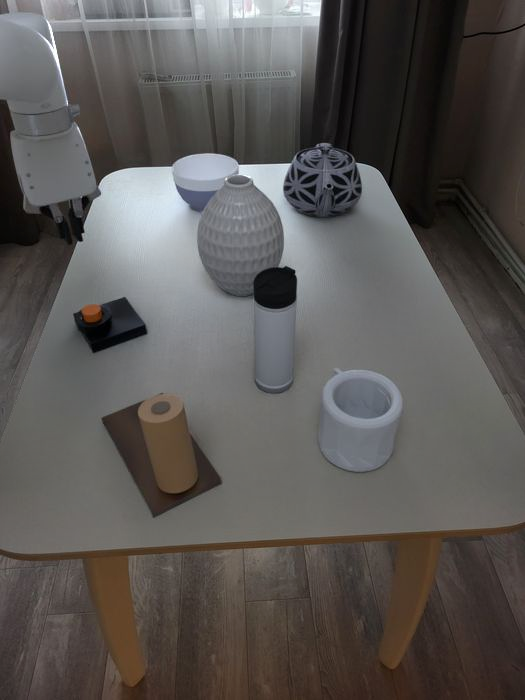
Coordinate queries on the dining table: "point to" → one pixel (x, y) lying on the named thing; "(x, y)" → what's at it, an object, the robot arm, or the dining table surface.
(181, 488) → the paper roll
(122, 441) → the holder
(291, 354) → the travel mug
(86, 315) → the button
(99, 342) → the button box
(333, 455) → the mug
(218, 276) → the vase
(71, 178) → the robot arm
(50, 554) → the dining table surface
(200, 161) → the bowl
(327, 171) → the teapot
